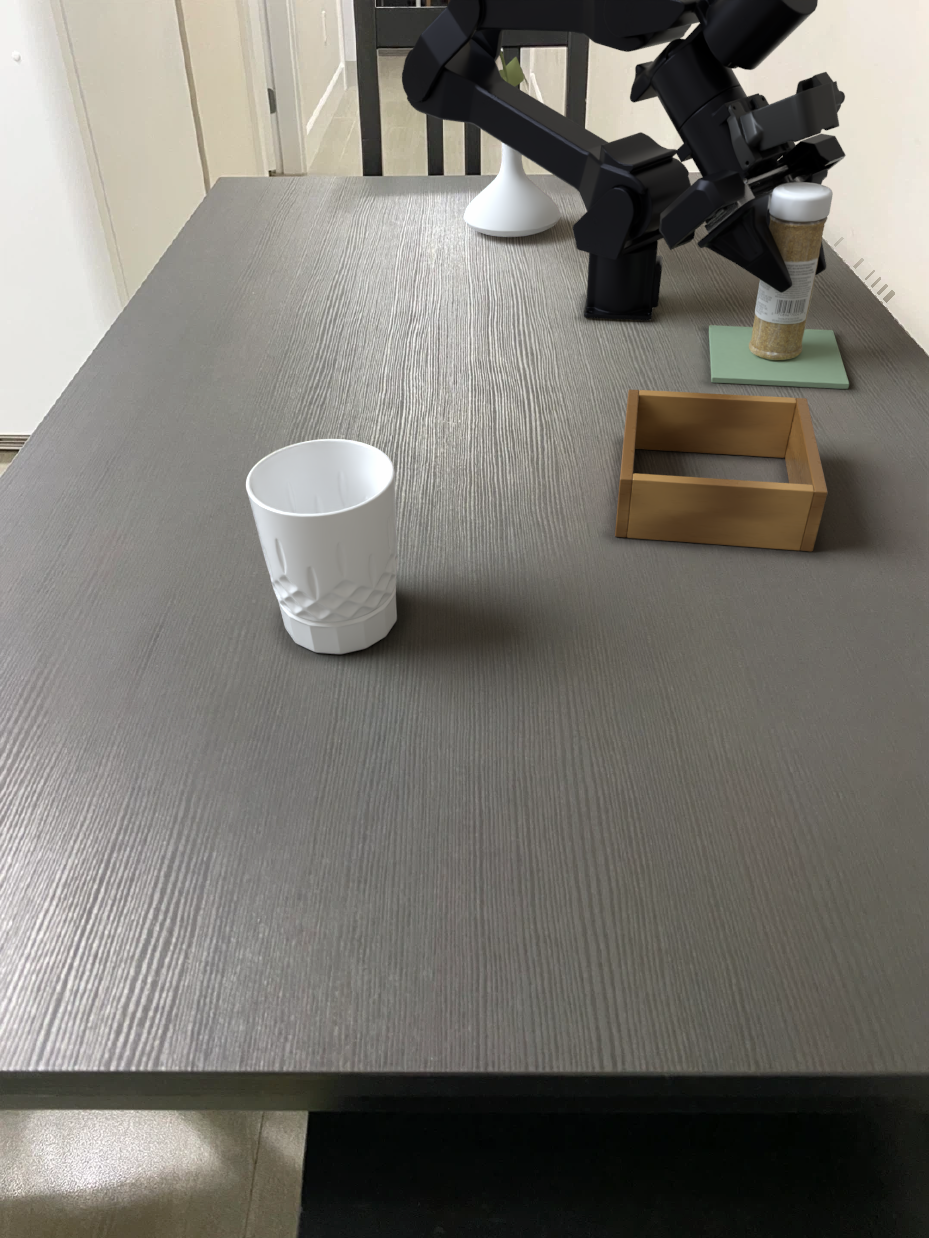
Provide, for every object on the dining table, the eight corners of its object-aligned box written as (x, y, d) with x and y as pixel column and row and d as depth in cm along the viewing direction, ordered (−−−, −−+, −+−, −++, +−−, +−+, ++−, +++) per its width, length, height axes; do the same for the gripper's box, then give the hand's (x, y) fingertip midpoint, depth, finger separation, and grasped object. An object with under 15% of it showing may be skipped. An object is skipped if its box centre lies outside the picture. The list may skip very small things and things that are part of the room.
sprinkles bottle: (801, 343, 83) (833, 181, 75) (800, 364, 80) (834, 197, 71) (748, 339, 84) (774, 179, 76) (745, 360, 81) (772, 195, 72)
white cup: (280, 583, 59) (252, 443, 53) (405, 574, 59) (392, 433, 53) (271, 667, 53) (238, 521, 47) (409, 657, 53) (396, 509, 47)
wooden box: (614, 537, 62) (619, 478, 59) (623, 443, 71) (628, 389, 69) (812, 552, 60) (828, 492, 57) (794, 453, 69) (807, 398, 67)
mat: (711, 382, 79) (712, 377, 78) (708, 330, 87) (709, 325, 87) (848, 389, 77) (849, 383, 77) (831, 335, 85) (833, 330, 85)
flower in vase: (500, 210, 117) (498, -32, 101) (578, 225, 112) (589, -29, 96) (435, 239, 109) (422, -18, 93) (516, 257, 104) (516, -14, 88)
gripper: (712, 55, 64) (823, 255, 65) (849, 20, 74) (945, 195, 75) (613, 160, 74) (712, 333, 75) (747, 117, 83) (832, 270, 84)
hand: (804, 280), depth 77 cm, fingers open, 5 cm apart
